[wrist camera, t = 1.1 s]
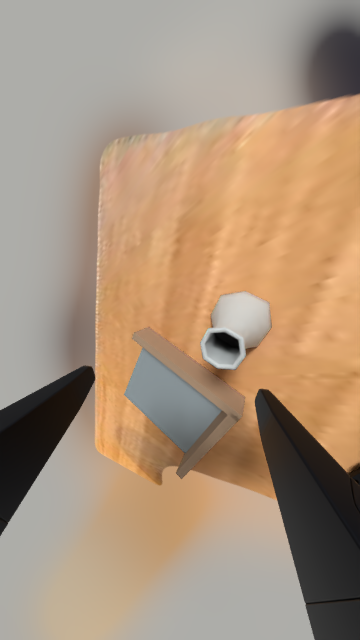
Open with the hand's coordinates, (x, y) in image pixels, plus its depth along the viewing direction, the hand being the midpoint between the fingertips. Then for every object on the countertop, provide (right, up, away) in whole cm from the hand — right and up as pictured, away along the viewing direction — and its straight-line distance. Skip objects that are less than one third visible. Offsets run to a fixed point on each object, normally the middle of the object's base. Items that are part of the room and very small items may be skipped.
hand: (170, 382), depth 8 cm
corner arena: (-2, -10, +19) cm, 22 cm away
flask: (+8, +3, +11) cm, 14 cm away
